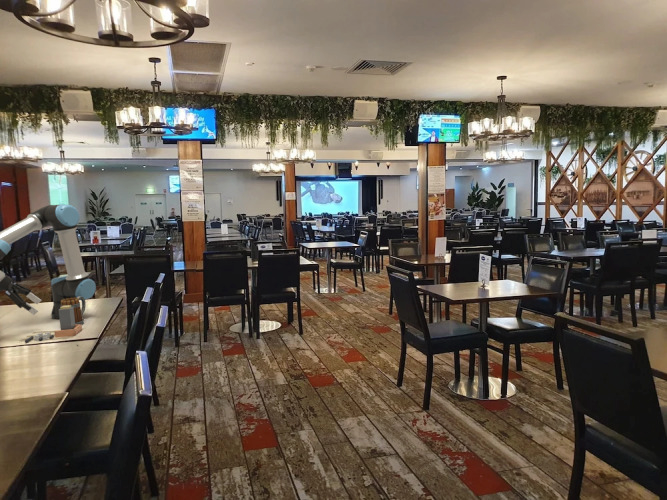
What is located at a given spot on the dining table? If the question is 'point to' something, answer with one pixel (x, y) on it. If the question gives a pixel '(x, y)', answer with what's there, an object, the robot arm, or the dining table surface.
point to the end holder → (69, 331)
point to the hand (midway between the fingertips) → (37, 307)
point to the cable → (39, 338)
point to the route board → (43, 334)
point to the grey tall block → (67, 317)
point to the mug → (76, 308)
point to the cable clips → (45, 336)
